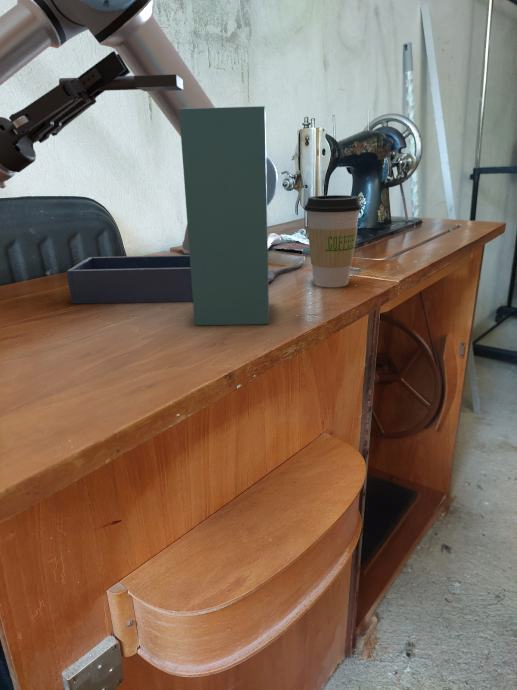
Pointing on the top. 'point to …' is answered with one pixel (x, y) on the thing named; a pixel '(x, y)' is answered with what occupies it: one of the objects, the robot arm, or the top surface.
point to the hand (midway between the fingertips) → (121, 62)
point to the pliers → (274, 272)
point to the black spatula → (142, 83)
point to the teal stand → (226, 213)
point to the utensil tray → (131, 279)
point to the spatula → (273, 239)
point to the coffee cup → (332, 237)
